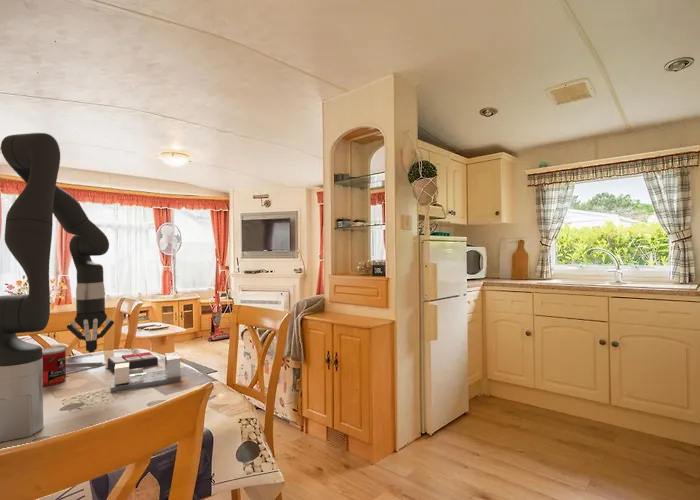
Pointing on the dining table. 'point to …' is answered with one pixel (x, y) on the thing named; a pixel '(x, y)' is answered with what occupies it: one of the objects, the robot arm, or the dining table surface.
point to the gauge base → (153, 376)
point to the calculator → (133, 360)
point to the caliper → (84, 364)
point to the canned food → (54, 365)
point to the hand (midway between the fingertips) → (91, 351)
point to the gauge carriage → (124, 372)
